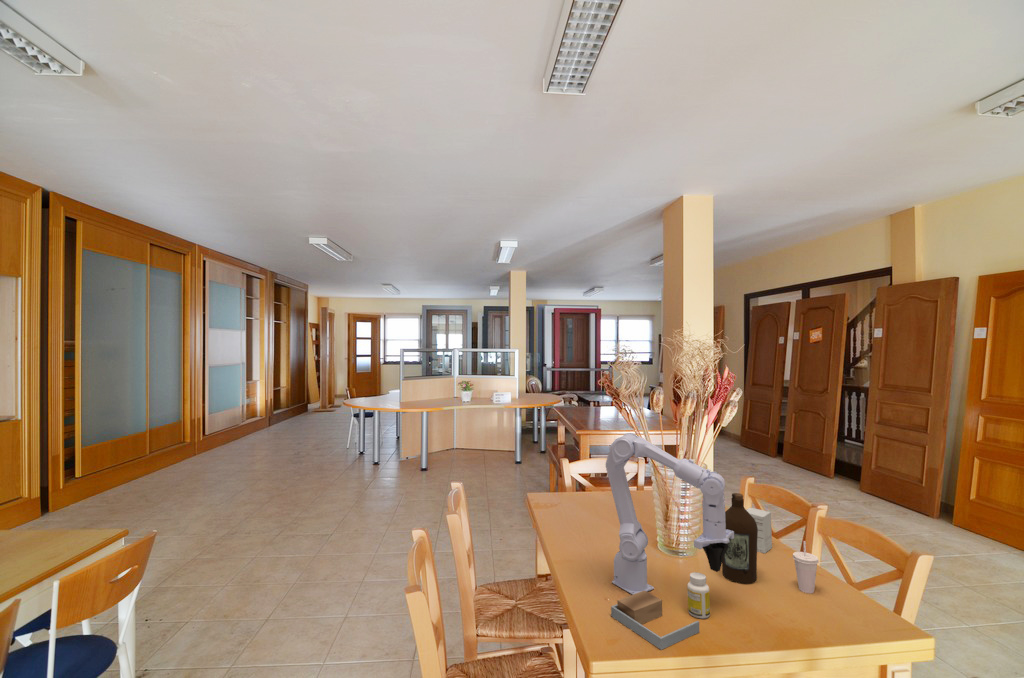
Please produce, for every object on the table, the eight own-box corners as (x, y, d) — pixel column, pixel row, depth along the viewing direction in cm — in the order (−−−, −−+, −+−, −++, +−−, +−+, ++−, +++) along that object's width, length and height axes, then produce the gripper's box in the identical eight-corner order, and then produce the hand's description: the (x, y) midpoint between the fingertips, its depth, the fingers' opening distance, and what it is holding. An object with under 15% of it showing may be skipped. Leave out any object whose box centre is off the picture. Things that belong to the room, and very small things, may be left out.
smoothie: (791, 590, 135) (789, 541, 135) (796, 582, 140) (794, 534, 140) (817, 598, 130) (815, 547, 131) (821, 589, 135) (820, 540, 136)
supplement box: (750, 542, 170) (749, 506, 171) (772, 548, 165) (771, 511, 165) (742, 547, 165) (741, 511, 166) (765, 554, 160) (764, 516, 160)
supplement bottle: (704, 608, 126) (703, 570, 126) (713, 619, 120) (713, 580, 121) (684, 608, 125) (683, 571, 126) (693, 619, 120) (692, 580, 120)
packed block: (617, 615, 122) (617, 600, 122) (644, 605, 127) (644, 590, 127) (634, 627, 117) (634, 610, 117) (662, 615, 122) (662, 600, 122)
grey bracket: (611, 616, 122) (611, 606, 122) (648, 602, 129) (647, 592, 129) (661, 649, 108) (660, 638, 108) (699, 632, 115) (699, 621, 115)
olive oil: (724, 566, 151) (722, 487, 152) (761, 575, 144) (759, 493, 145) (716, 578, 142) (715, 495, 143) (755, 588, 136) (753, 501, 137)
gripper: (709, 528, 120) (711, 582, 120) (743, 518, 128) (745, 569, 127) (686, 520, 126) (687, 571, 126) (720, 511, 134) (721, 559, 133)
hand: (715, 570), depth 127 cm, fingers closed
